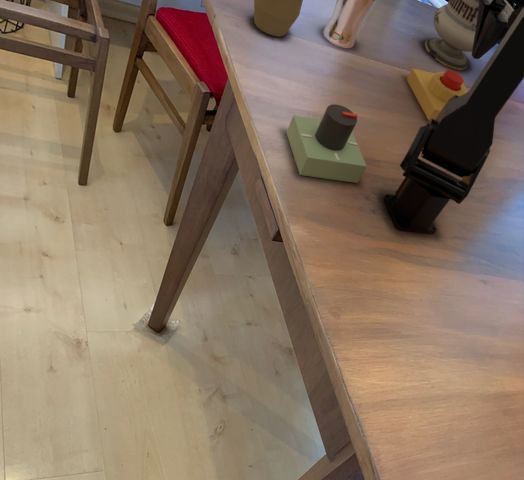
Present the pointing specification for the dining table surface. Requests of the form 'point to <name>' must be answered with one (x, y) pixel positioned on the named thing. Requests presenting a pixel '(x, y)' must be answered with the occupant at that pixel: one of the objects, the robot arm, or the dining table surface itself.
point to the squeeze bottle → (276, 15)
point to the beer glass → (346, 21)
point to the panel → (323, 153)
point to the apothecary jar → (454, 33)
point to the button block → (431, 91)
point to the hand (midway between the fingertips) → (474, 57)
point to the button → (452, 80)
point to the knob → (336, 127)
